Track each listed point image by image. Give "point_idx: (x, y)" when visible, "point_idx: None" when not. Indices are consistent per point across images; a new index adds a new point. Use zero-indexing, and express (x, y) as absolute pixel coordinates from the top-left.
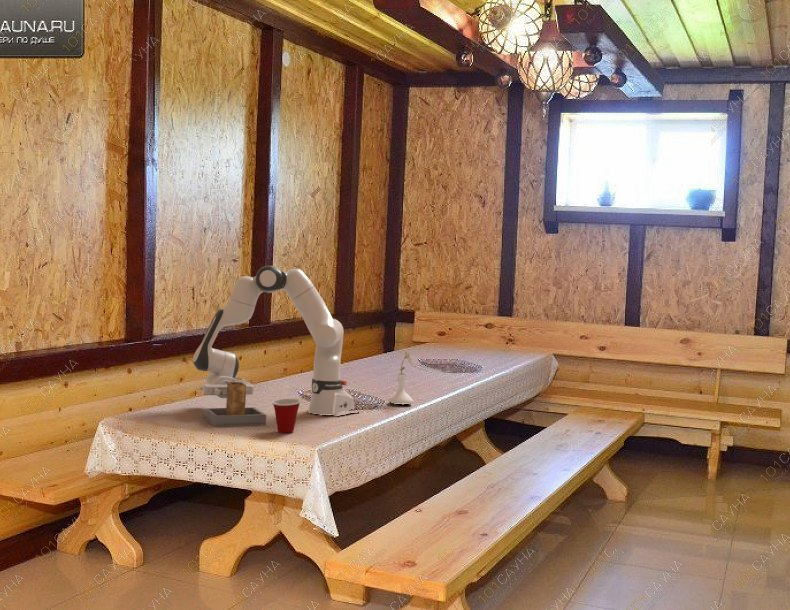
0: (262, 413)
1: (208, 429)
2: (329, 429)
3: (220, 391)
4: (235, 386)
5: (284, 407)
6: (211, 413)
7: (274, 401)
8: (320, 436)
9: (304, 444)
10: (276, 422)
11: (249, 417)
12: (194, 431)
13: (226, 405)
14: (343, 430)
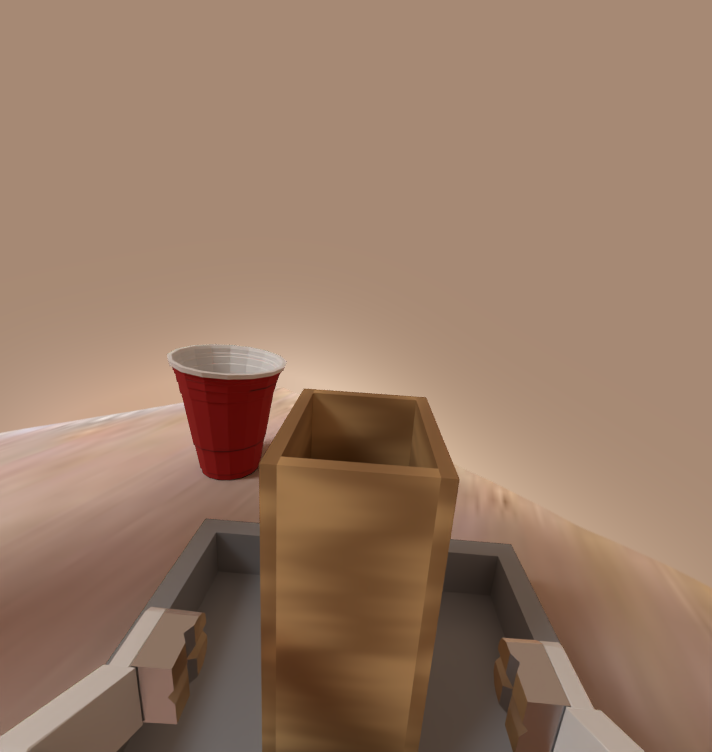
0: (195, 549)
1: (527, 552)
2: (44, 461)
3: (534, 642)
4: (394, 405)
5: (263, 362)
6: (551, 626)
7: (254, 374)
8: (178, 422)
9: (279, 398)
10: (260, 441)
11: None
12: (585, 535)
13: (422, 711)
14: (23, 445)
